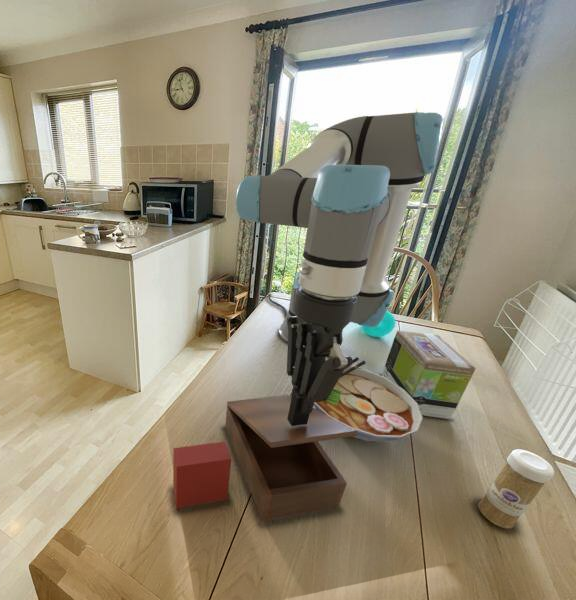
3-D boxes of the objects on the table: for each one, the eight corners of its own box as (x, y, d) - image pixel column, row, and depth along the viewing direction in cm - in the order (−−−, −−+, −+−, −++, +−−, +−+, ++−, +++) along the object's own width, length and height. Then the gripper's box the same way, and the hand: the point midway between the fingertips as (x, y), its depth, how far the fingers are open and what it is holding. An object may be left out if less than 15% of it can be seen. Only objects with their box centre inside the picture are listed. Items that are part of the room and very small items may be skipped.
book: (173, 491, 56) (173, 448, 52) (221, 483, 58) (225, 441, 53) (176, 510, 53) (176, 466, 49) (227, 502, 54) (231, 458, 50)
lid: (357, 435, 47) (356, 430, 47) (271, 447, 45) (270, 442, 45) (288, 398, 68) (288, 394, 68) (227, 405, 66) (227, 401, 66)
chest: (337, 510, 53) (347, 483, 50) (260, 523, 51) (266, 496, 48) (283, 421, 71) (287, 398, 68) (224, 429, 69) (227, 405, 66)
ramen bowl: (373, 487, 57) (385, 456, 54) (276, 410, 75) (281, 382, 71) (433, 430, 69) (446, 402, 66) (337, 375, 87) (344, 350, 83)
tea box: (452, 420, 72) (478, 368, 66) (404, 414, 74) (425, 362, 67) (419, 379, 85) (439, 333, 79) (379, 374, 87) (395, 328, 81)
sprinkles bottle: (477, 517, 52) (513, 462, 47) (476, 496, 56) (510, 443, 50) (515, 536, 50) (559, 480, 44) (512, 513, 53) (552, 459, 47)
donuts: (381, 326, 112) (389, 301, 108) (392, 340, 104) (401, 313, 99) (351, 322, 115) (358, 298, 110) (359, 336, 106) (367, 310, 102)
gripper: (278, 275, 47) (259, 396, 56) (330, 313, 35) (295, 458, 45) (323, 272, 48) (297, 392, 58) (389, 309, 36) (343, 452, 46)
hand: (297, 421), depth 51 cm, fingers closed
